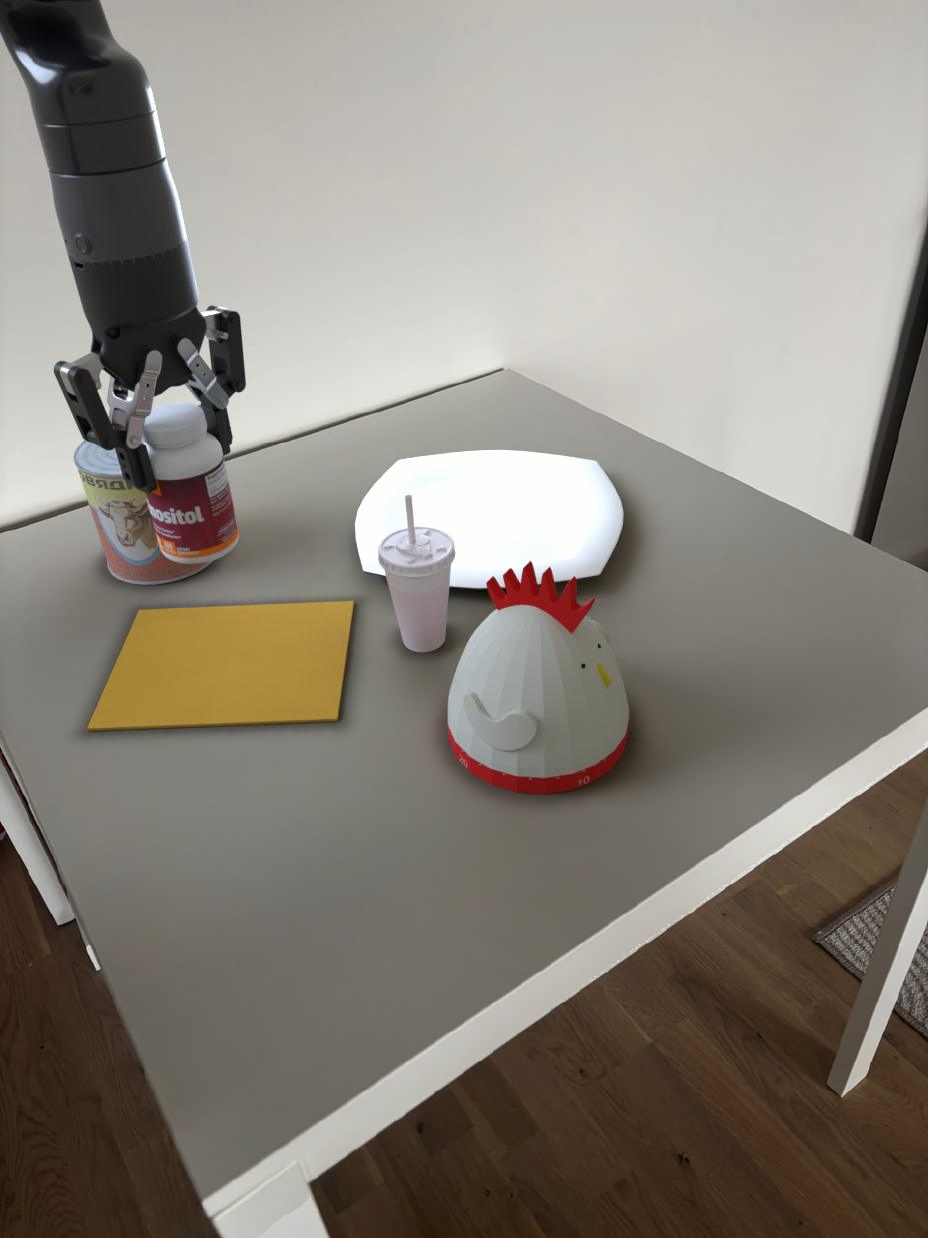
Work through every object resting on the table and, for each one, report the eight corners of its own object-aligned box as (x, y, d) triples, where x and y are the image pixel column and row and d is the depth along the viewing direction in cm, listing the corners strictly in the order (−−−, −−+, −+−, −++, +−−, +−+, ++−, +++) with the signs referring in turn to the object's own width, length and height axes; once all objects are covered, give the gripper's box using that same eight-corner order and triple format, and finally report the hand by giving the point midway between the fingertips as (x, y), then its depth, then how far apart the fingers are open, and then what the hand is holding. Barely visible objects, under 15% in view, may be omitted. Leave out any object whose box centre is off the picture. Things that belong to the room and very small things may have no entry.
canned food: (90, 584, 94) (53, 474, 87) (131, 524, 103) (100, 419, 96) (202, 585, 93) (174, 474, 86) (234, 524, 102) (211, 419, 95)
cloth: (87, 731, 77) (86, 728, 77) (139, 612, 90) (138, 609, 90) (337, 721, 77) (337, 718, 77) (354, 603, 90) (353, 600, 90)
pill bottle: (145, 561, 75) (107, 430, 68) (187, 520, 79) (155, 394, 73) (216, 572, 73) (185, 438, 66) (254, 530, 78) (229, 401, 71)
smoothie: (435, 608, 88) (425, 472, 80) (474, 643, 84) (468, 503, 76) (374, 634, 86) (357, 495, 77) (411, 672, 81) (397, 529, 73)
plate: (380, 464, 111) (379, 448, 110) (618, 465, 109) (619, 449, 107) (333, 601, 90) (331, 584, 89) (627, 607, 87) (629, 589, 86)
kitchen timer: (576, 821, 68) (582, 653, 59) (413, 752, 74) (396, 591, 65) (656, 704, 77) (671, 543, 68) (505, 651, 83) (501, 498, 74)
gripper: (181, 205, 69) (226, 423, 79) (-8, 258, 60) (70, 495, 70) (250, 219, 65) (288, 447, 75) (59, 278, 56) (131, 527, 66)
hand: (182, 469), depth 72 cm, fingers closed on pill bottle, 6 cm apart
